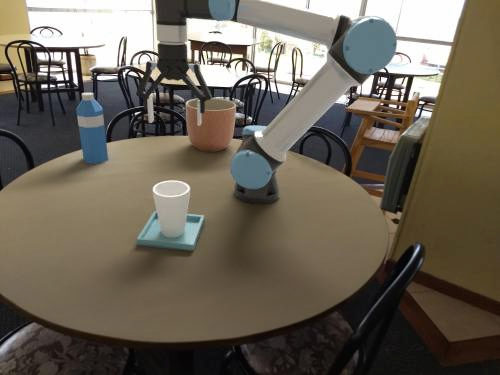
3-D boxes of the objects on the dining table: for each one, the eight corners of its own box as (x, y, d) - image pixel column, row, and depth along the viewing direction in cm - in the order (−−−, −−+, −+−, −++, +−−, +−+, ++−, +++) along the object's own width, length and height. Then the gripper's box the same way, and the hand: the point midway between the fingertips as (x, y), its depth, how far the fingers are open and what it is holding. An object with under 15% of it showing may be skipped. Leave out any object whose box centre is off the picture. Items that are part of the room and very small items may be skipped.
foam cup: (182, 243, 97) (181, 199, 91) (149, 237, 98) (146, 193, 93) (194, 224, 105) (194, 183, 100) (163, 219, 107) (162, 178, 101)
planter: (179, 152, 155) (178, 107, 147) (194, 136, 174) (194, 95, 165) (228, 158, 153) (230, 112, 144) (238, 142, 171) (240, 100, 163)
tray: (204, 221, 108) (204, 215, 107) (193, 251, 95) (193, 244, 94) (155, 216, 109) (154, 210, 108) (137, 245, 96) (136, 239, 95)
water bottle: (103, 164, 139) (95, 97, 128) (78, 163, 139) (68, 95, 128) (112, 155, 148) (105, 91, 137) (88, 153, 148) (79, 90, 137)
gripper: (221, 44, 100) (220, 121, 109) (128, 38, 100) (135, 116, 109) (219, 46, 93) (218, 129, 102) (118, 41, 93) (127, 124, 102)
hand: (175, 123), depth 106 cm, fingers open, 13 cm apart
